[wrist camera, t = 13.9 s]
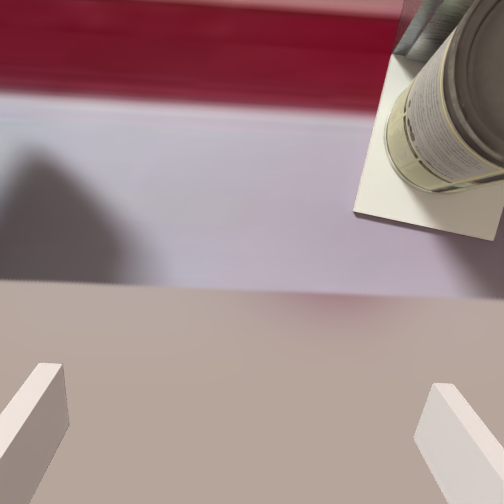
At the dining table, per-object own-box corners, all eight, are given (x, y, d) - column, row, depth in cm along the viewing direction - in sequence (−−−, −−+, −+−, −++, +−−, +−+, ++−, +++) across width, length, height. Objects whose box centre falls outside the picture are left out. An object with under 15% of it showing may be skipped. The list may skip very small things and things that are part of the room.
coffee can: (444, 44, 31) (570, -105, 17) (537, 128, 30) (745, 48, 16) (356, 139, 32) (403, 76, 18) (444, 220, 32) (561, 219, 18)
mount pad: (352, 211, 33) (353, 211, 33) (390, 56, 32) (392, 53, 31) (490, 240, 32) (493, 240, 31) (535, 82, 31) (540, 79, 30)
